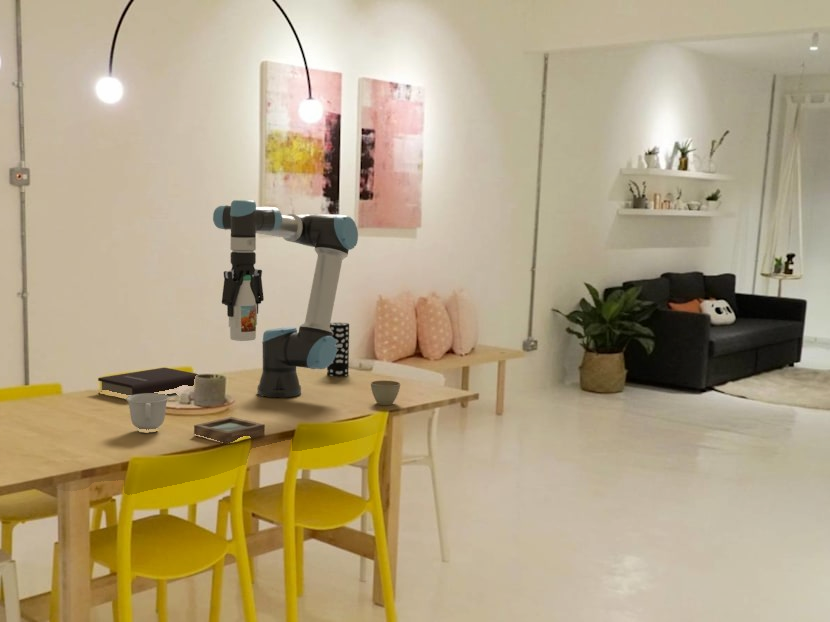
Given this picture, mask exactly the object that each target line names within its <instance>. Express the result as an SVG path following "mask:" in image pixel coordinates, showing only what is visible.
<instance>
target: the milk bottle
mask: <svg viewBox="0 0 830 622" xmlns="http://www.w3.org/2000/svg"><path fill="white" fill-rule="evenodd" d="M237 282H238V281H237ZM250 282H251V276H250V275H245V276H244V277H243V283H242V285H241V286H240V289H239V292H238V295H237V299H236V302H235V305H234V306H237V328H232V327H229V337H230V340H231V341H238V342H239V341H240V342H248V341H255V340H256V339H257V338H256V337H257V325H256V302H255V297H254V294H253V292H252V290H251V287H250Z"/></svg>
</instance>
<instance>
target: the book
mask: <svg viewBox="0 0 830 622" xmlns="http://www.w3.org/2000/svg"><path fill="white" fill-rule="evenodd" d="M196 375H199V374H198V373H195V372H190V371H183V370H180V369H173V368H168V367H159V368H151V369H146V370H140V371H134V372H128V373H121V374H115V375H109V376H101V377H98V379H97V381H99V382H101V391H102V390H109V391H112V392H117V393H121V394H126V395H135V394H144V393H154V392H159V391H165V390H169V389H174V388H177V387H179V386H182V385H188V386H193V385H194V379H195V376H196Z"/></svg>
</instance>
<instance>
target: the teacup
mask: <svg viewBox="0 0 830 622" xmlns="http://www.w3.org/2000/svg"><path fill="white" fill-rule="evenodd" d="M169 399H170V395H165V394H158V393H144V394H135V395H131V396H128V397H127V398H126V400H125V401H127V402H128V408H129V413H130V414H129V415H130V420H131V423H132V425H133V426H134V427H136V428H137V429H138V428H139V429H146V430H147V429H148V430H149V429H156V428H158V429H159V427H160V426H162V425H163V424H164V421H165V417H166V409H167V403H168V400H169Z"/></svg>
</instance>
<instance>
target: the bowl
mask: <svg viewBox="0 0 830 622" xmlns="http://www.w3.org/2000/svg"><path fill="white" fill-rule="evenodd" d="M400 388H401V382H399V381H394V380H385V379H384V380H374V381H371V382H370V389H371V391H372V392H371V393H372V396H373V398H374V399H375V402H376V403H377V404H378V405H381V406H391V405H393V404H394V403H395V400H396V399H397V396H398V395H399V392H400Z"/></svg>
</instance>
